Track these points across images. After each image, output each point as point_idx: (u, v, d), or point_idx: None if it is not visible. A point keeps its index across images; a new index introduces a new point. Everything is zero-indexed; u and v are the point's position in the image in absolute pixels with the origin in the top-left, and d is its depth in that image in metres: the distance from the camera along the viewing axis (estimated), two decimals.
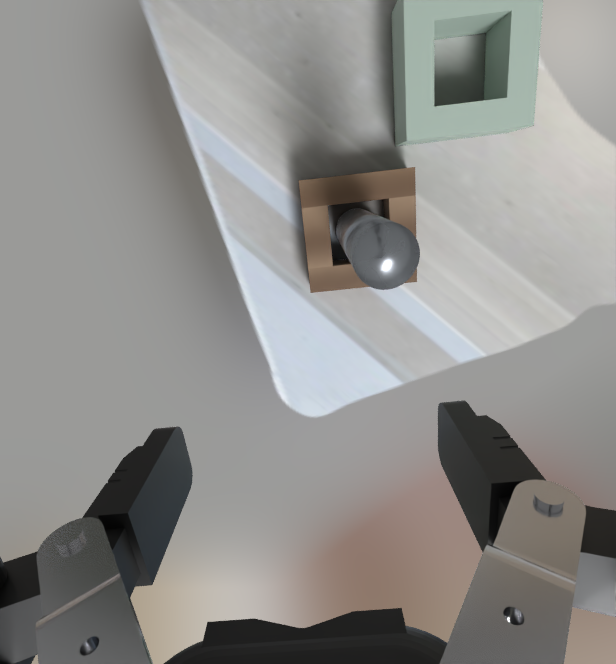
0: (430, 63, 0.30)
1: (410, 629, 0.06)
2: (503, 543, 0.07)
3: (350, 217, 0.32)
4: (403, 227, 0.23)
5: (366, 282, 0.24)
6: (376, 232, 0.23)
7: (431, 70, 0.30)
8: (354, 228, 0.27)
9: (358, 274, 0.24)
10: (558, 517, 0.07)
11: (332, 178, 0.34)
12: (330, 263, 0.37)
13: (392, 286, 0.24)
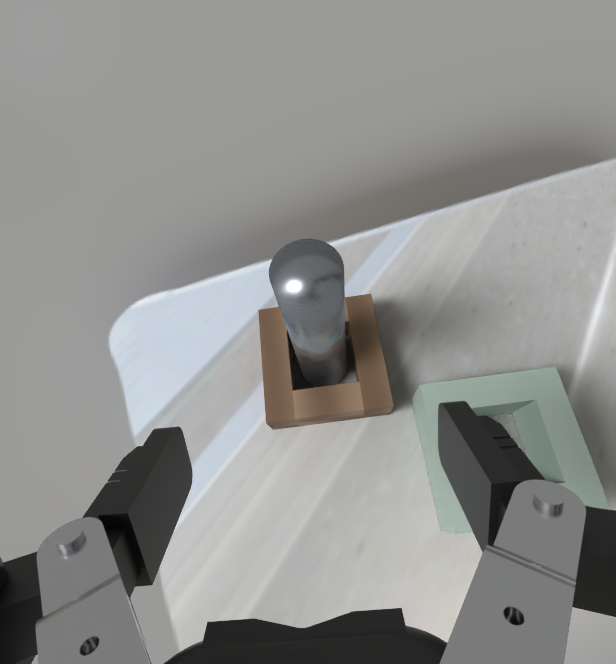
0: (496, 400, 0.29)
1: (410, 629, 0.06)
2: (503, 543, 0.07)
3: None
4: (338, 283, 0.21)
5: (277, 254, 0.22)
6: (332, 258, 0.21)
7: (490, 402, 0.29)
8: None
9: (286, 246, 0.22)
10: (558, 517, 0.07)
11: (375, 324, 0.34)
12: None
13: (272, 280, 0.21)
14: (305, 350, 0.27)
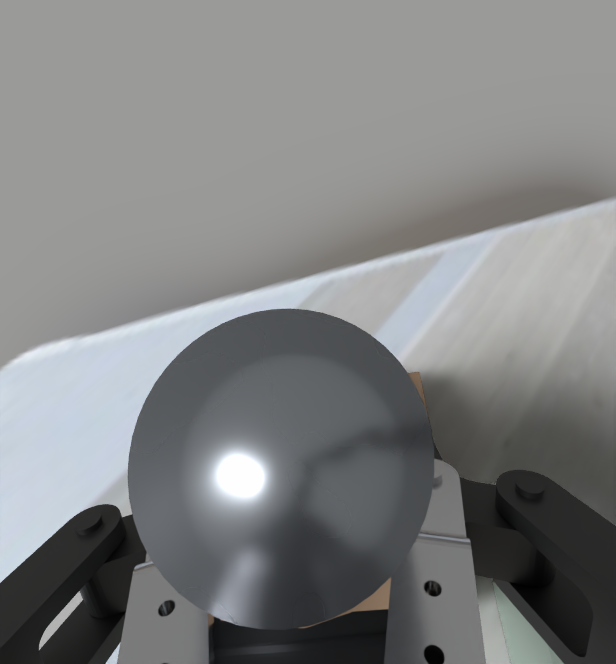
0: None
1: None
2: None
3: None
4: (414, 525, 0.05)
5: (176, 365, 0.06)
6: (384, 396, 0.05)
7: None
8: None
9: (214, 334, 0.06)
10: (433, 488, 0.08)
11: None
12: None
13: (137, 482, 0.05)
14: None
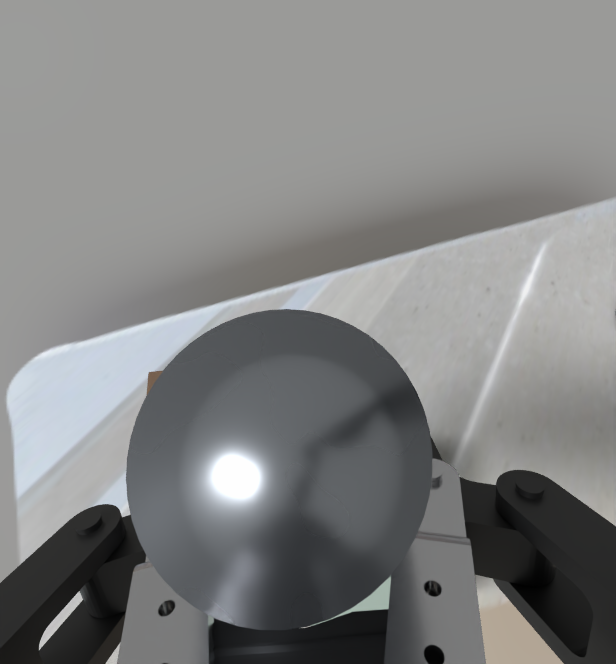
0: None
1: None
2: None
3: None
4: (412, 526, 0.05)
5: (174, 366, 0.06)
6: (382, 397, 0.05)
7: None
8: None
9: (212, 335, 0.06)
10: (433, 488, 0.08)
11: None
12: None
13: (135, 483, 0.05)
14: None
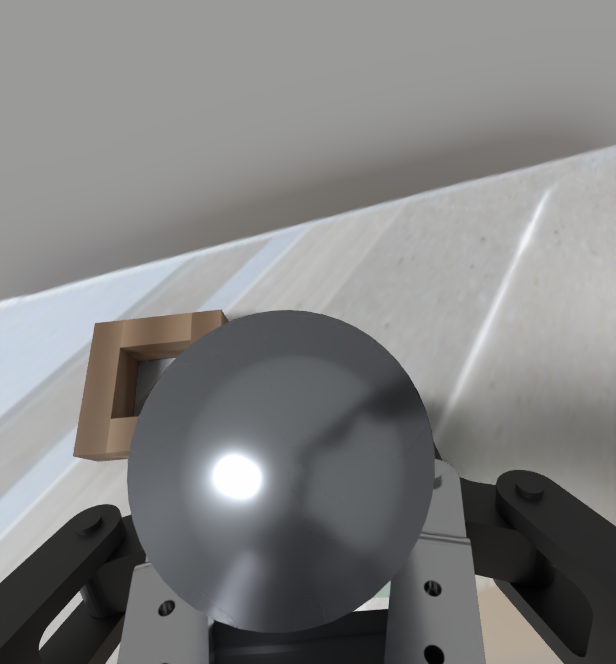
0: None
1: None
2: None
3: None
4: (415, 527, 0.05)
5: (176, 366, 0.06)
6: (384, 398, 0.05)
7: None
8: None
9: (213, 336, 0.06)
10: (433, 489, 0.08)
11: None
12: (123, 344, 0.30)
13: (136, 484, 0.05)
14: None
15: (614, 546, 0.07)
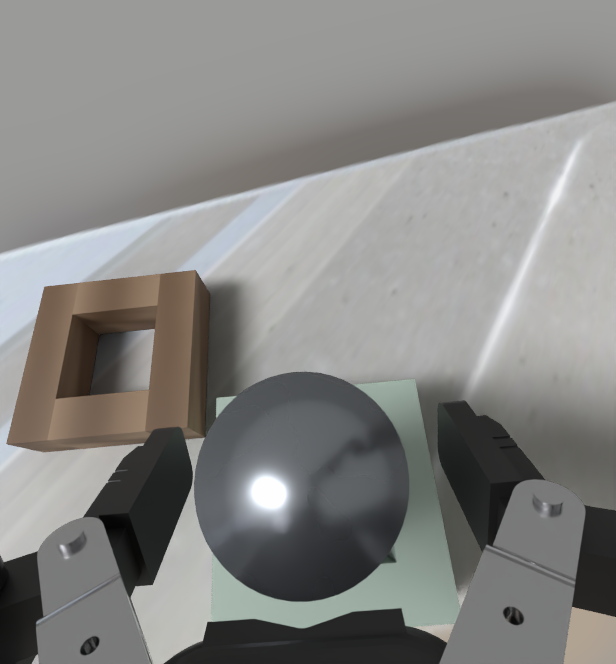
0: None
1: (410, 629, 0.06)
2: (502, 543, 0.07)
3: None
4: (394, 532, 0.07)
5: (224, 415, 0.08)
6: (374, 440, 0.08)
7: None
8: None
9: (251, 391, 0.08)
10: (557, 517, 0.07)
11: (191, 310, 0.24)
12: (77, 311, 0.25)
13: (201, 501, 0.07)
14: None
15: None
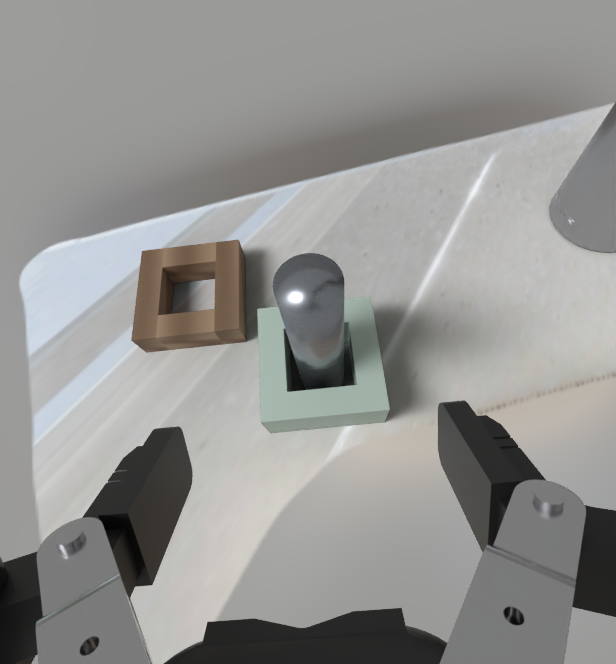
0: None
1: (410, 629, 0.06)
2: (503, 543, 0.07)
3: None
4: (338, 296, 0.22)
5: (281, 267, 0.23)
6: (333, 272, 0.22)
7: None
8: None
9: (290, 260, 0.23)
10: (558, 517, 0.07)
11: (237, 263, 0.39)
12: (165, 265, 0.40)
13: (275, 291, 0.22)
14: (305, 358, 0.28)
15: None
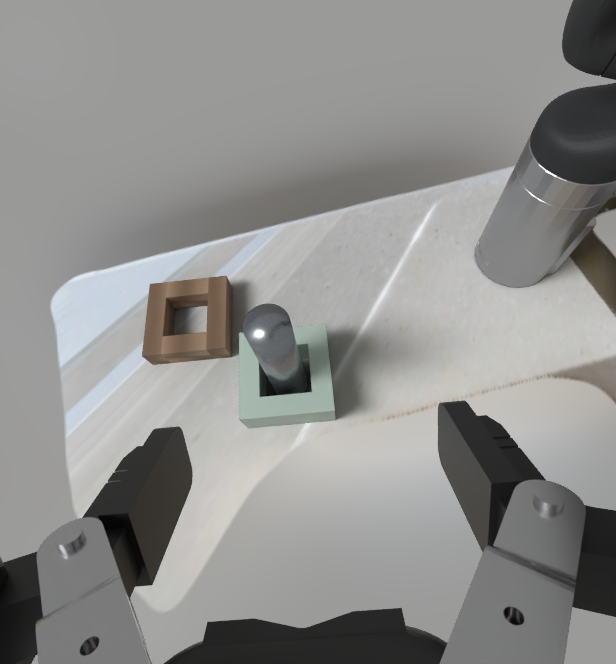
0: None
1: (410, 629, 0.06)
2: (503, 543, 0.07)
3: None
4: (286, 334, 0.32)
5: (249, 313, 0.34)
6: (283, 317, 0.33)
7: None
8: None
9: (255, 308, 0.34)
10: (558, 517, 0.07)
11: (224, 295, 0.50)
12: (168, 296, 0.50)
13: (244, 330, 0.33)
14: (270, 373, 0.39)
15: None
